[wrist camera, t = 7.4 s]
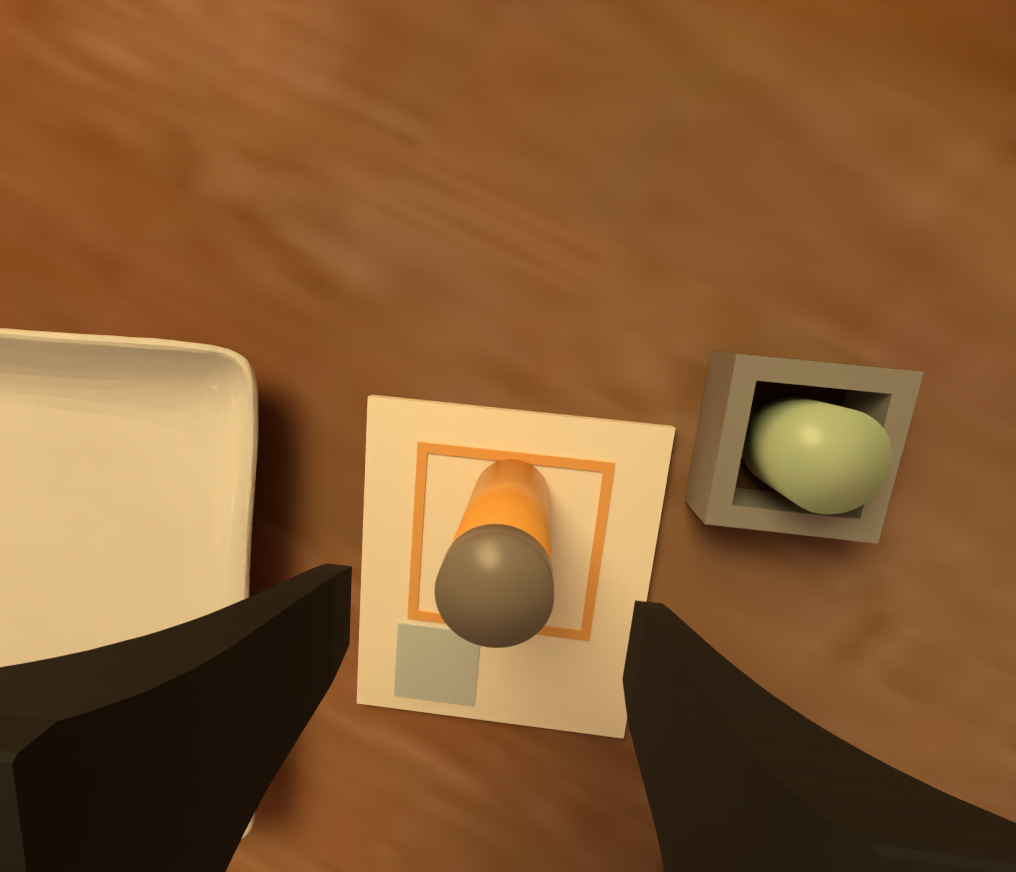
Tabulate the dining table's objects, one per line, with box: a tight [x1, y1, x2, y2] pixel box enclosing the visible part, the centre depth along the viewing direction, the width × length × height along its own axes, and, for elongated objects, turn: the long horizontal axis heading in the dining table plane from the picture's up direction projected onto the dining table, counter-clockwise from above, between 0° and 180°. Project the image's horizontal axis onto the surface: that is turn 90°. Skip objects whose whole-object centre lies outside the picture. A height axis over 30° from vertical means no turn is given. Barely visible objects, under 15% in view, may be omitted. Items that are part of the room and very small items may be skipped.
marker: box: [434, 459, 554, 648], centre depth 16 cm, size 3×3×7 cm
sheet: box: [357, 395, 675, 738], centre depth 21 cm, size 14×12×1 cm
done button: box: [742, 396, 892, 514], centre depth 17 cm, size 3×3×3 cm
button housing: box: [685, 351, 924, 543], centre depth 18 cm, size 6×6×2 cm
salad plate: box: [0, 328, 258, 839], centre depth 21 cm, size 21×21×3 cm
